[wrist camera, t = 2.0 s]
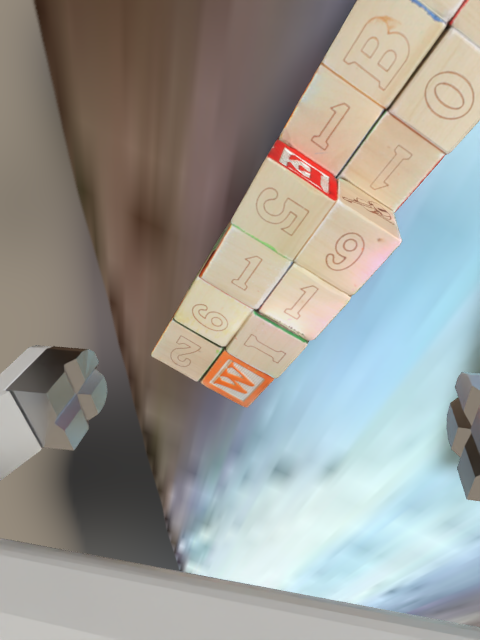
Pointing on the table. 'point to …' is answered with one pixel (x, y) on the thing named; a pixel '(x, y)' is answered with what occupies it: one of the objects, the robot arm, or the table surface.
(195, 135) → the table surface
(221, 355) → the stack of blocks
